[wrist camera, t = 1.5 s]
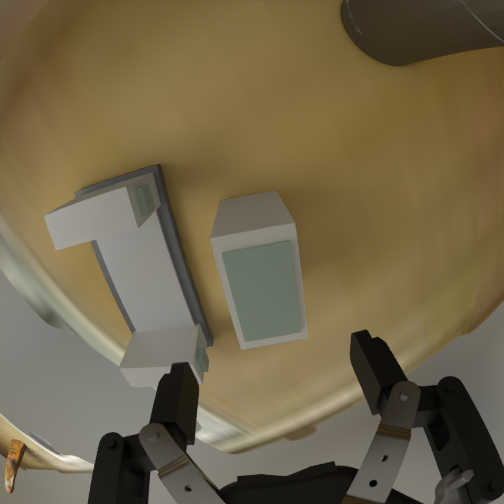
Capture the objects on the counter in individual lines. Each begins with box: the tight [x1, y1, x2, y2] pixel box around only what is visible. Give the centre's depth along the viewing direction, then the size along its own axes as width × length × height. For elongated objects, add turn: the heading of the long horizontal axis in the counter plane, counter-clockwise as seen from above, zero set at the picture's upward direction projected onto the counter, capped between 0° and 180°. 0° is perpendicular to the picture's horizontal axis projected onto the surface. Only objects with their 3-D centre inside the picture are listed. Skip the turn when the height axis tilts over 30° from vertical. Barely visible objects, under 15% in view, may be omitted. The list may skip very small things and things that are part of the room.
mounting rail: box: [44, 164, 213, 387], centre depth 23 cm, size 9×20×7 cm, turn 10°
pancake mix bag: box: [5, 440, 27, 493], centre depth 47 cm, size 7×19×28 cm, turn 119°
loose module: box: [210, 190, 307, 350], centre depth 22 cm, size 5×9×9 cm, turn 10°
